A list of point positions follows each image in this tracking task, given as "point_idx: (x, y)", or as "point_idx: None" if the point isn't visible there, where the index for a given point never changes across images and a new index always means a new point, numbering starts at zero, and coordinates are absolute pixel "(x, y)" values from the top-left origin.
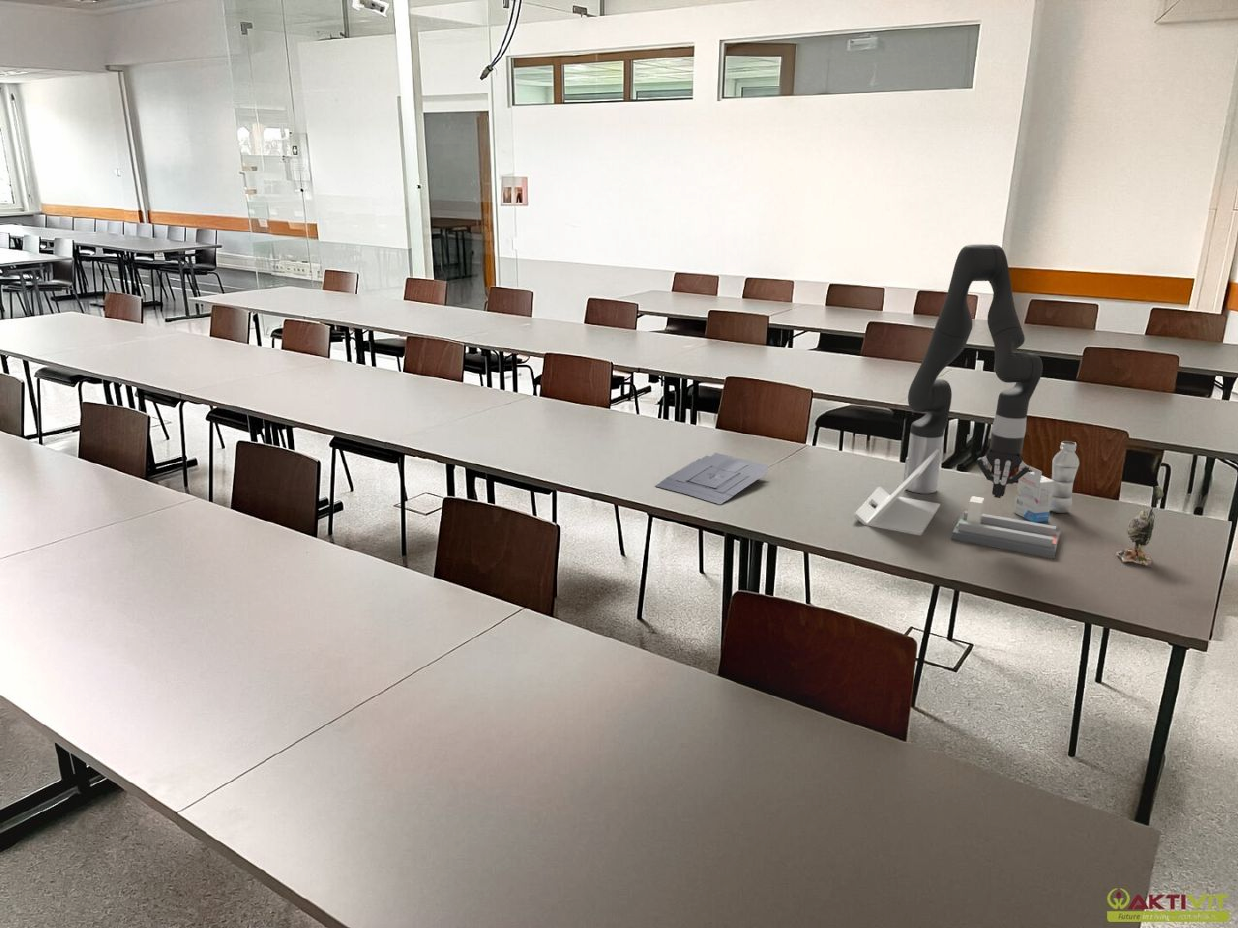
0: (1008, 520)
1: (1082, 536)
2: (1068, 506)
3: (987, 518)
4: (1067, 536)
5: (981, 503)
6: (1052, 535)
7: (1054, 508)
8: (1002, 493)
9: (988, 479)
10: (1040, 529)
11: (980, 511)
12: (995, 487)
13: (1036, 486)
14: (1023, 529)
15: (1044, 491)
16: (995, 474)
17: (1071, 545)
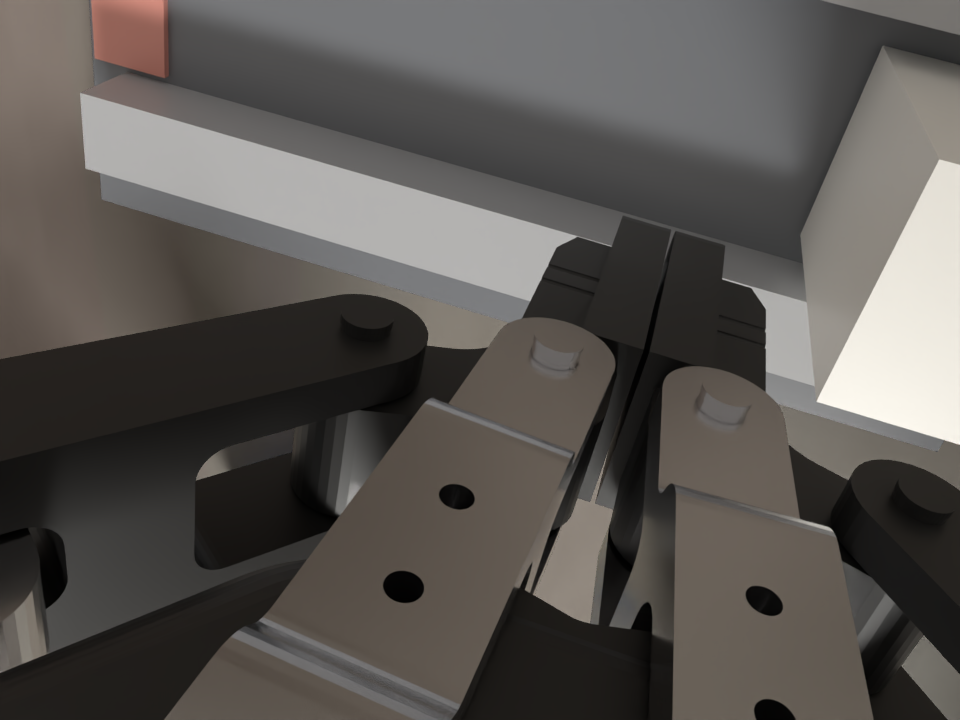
0: (513, 224)
1: (8, 264)
2: None
3: (729, 273)
4: (93, 241)
5: (942, 161)
6: (139, 68)
7: None
8: (580, 265)
9: (924, 478)
10: (225, 119)
11: (919, 111)
12: (715, 354)
13: None
14: (383, 150)
15: None
16: (784, 520)
17: (41, 51)
